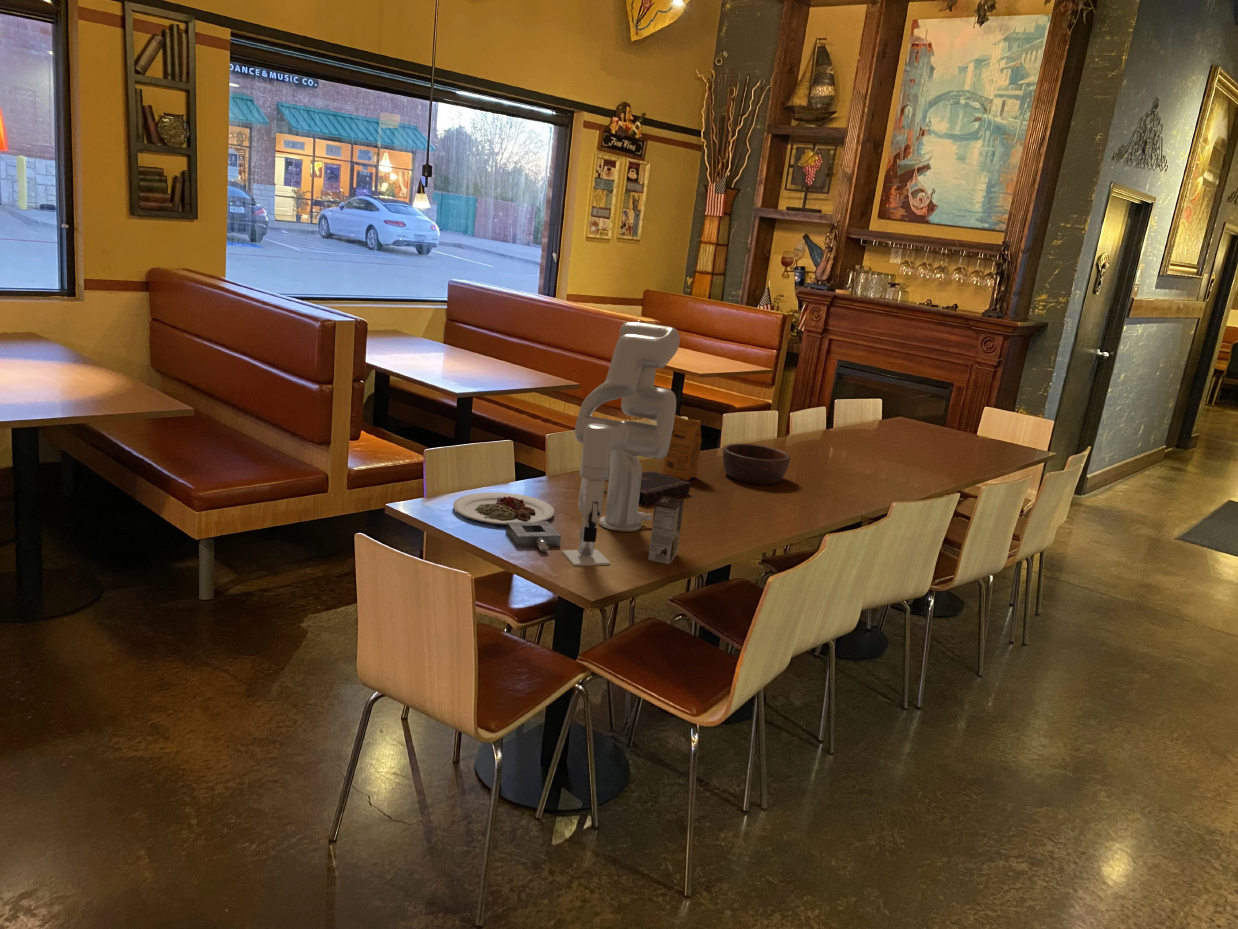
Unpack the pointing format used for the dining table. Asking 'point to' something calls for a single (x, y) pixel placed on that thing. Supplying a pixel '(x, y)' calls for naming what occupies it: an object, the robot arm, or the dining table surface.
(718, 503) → the dining table surface
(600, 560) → the pad
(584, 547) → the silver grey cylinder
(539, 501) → the plated food
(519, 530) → the chuck block
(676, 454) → the coffee package
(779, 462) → the wooden bowl
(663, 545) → the coffee box
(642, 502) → the diary
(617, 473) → the robot arm
